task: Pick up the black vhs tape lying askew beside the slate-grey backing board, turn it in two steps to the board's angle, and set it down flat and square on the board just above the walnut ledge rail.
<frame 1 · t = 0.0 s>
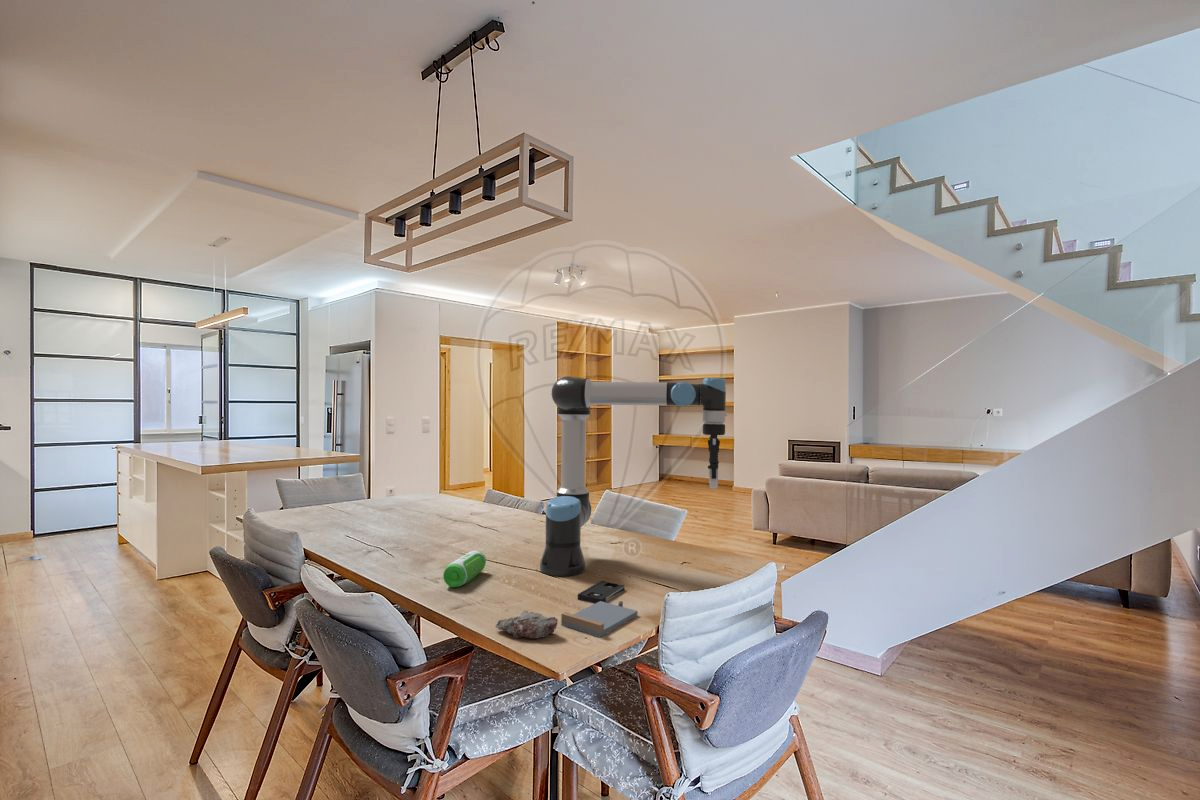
hand: (713, 485, 193), 28 cm above the table, tool pointing down, fingers open, 13 cm apart
board: (600, 620, 145), on the table
vhs tape: (601, 597, 165), on the table
mineral rock: (526, 635, 136), on the table
speaker: (465, 580, 176), on the table
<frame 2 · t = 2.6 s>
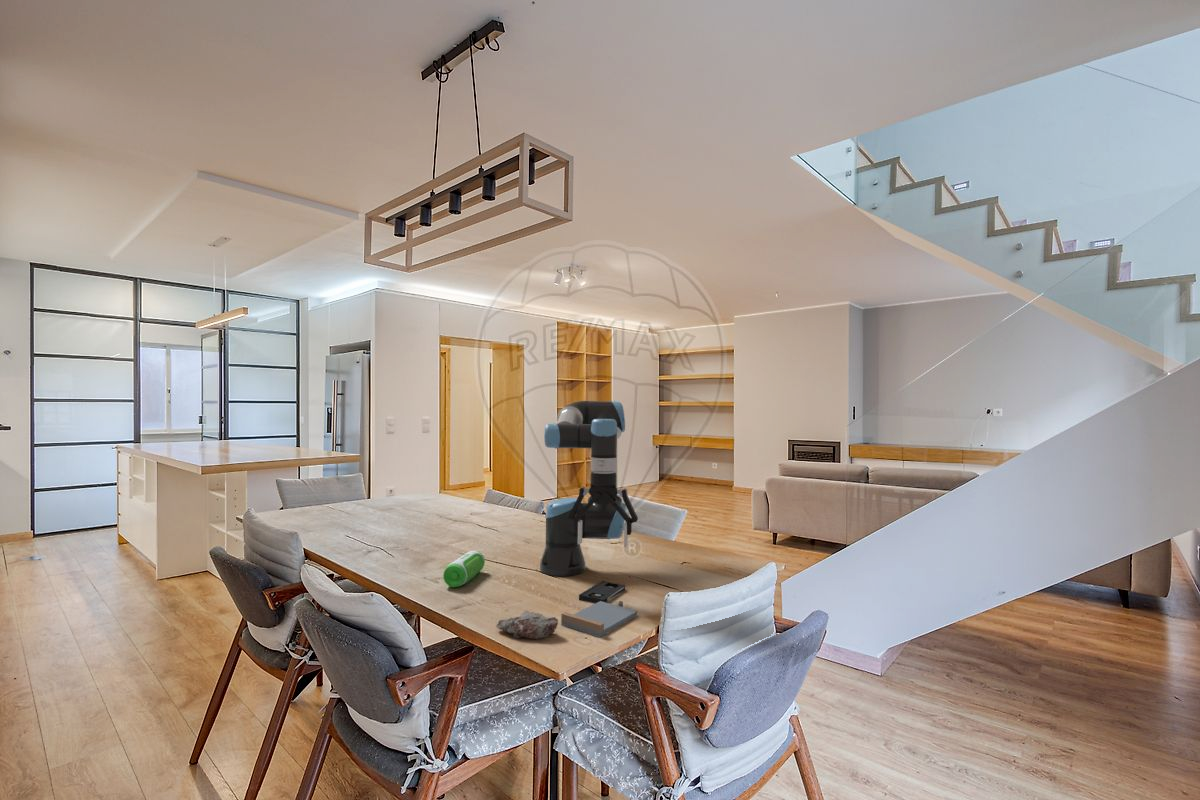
hand: (602, 544, 165), 15 cm above the table, tool pointing down, fingers open, 13 cm apart
nothing on the table moved.
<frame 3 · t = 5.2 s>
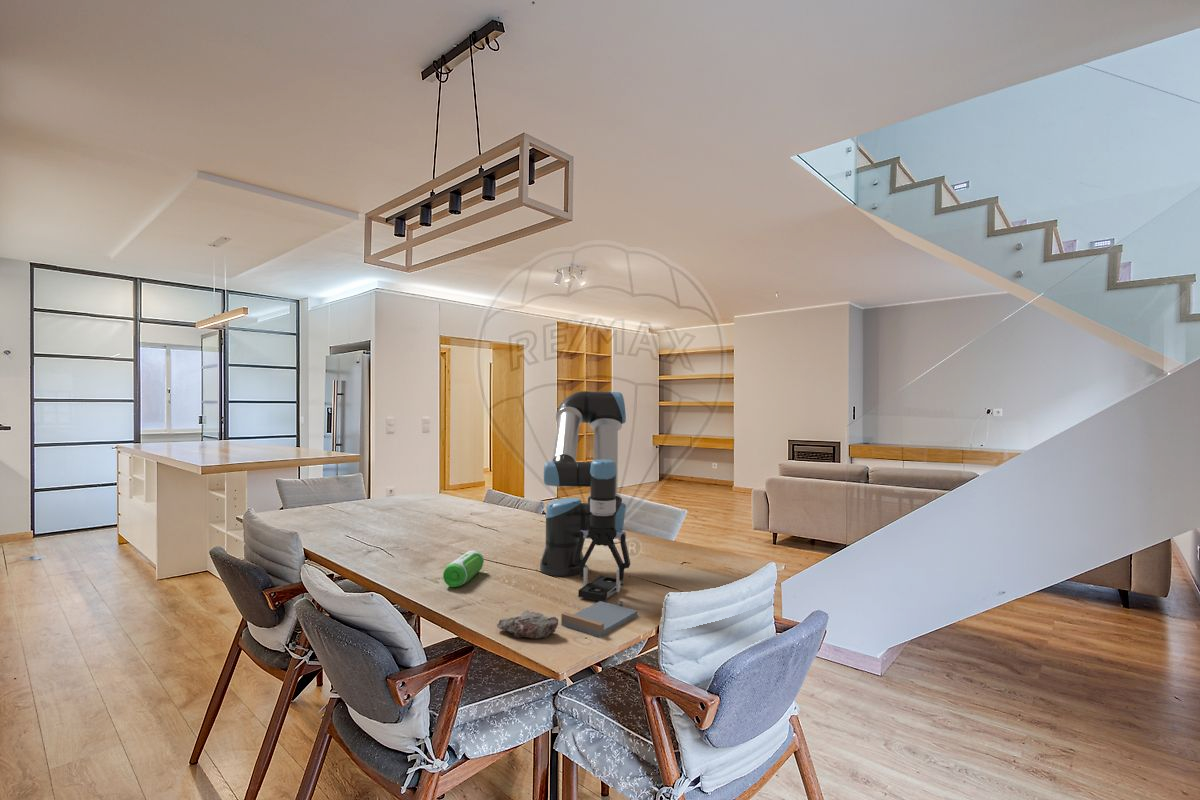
hand: (601, 589, 165), 1 cm above the table, tool pointing down, fingers closed on vhs tape, 9 cm apart
vhs tape: (601, 592, 165), on the table, touching gripper
everything else where it was.
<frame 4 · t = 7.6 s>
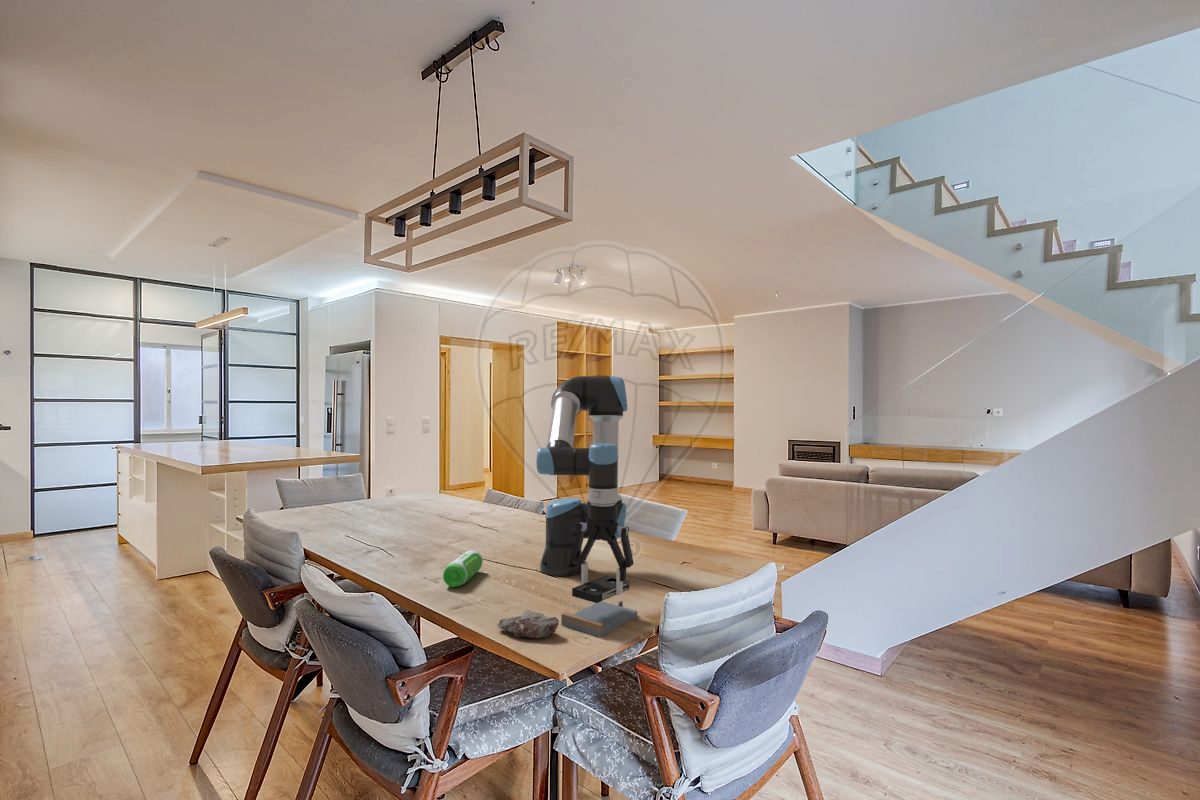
hand: (601, 590, 146), 7 cm above the table, tool pointing down, fingers closed on vhs tape, 9 cm apart
vhs tape: (601, 593, 146), point 7 cm above the table, touching gripper
everything else where it was.
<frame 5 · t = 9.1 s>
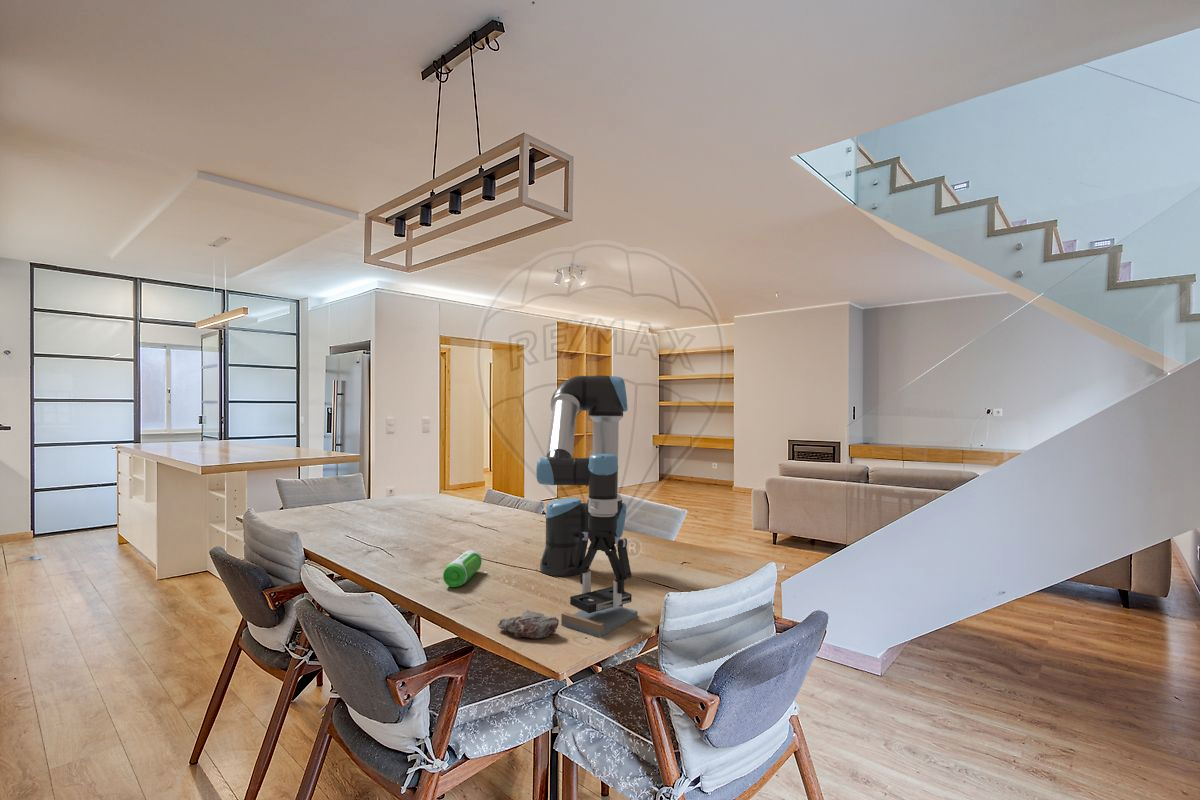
hand: (601, 601, 146), 5 cm above the table, tool pointing down, fingers closed on vhs tape, 9 cm apart
vhs tape: (601, 603, 146), point 4 cm above the table, touching gripper
everything else where it was.
when the fingers open (3 cm above the table, at t = 9.9 s): vhs tape stays where it is, resting on board.
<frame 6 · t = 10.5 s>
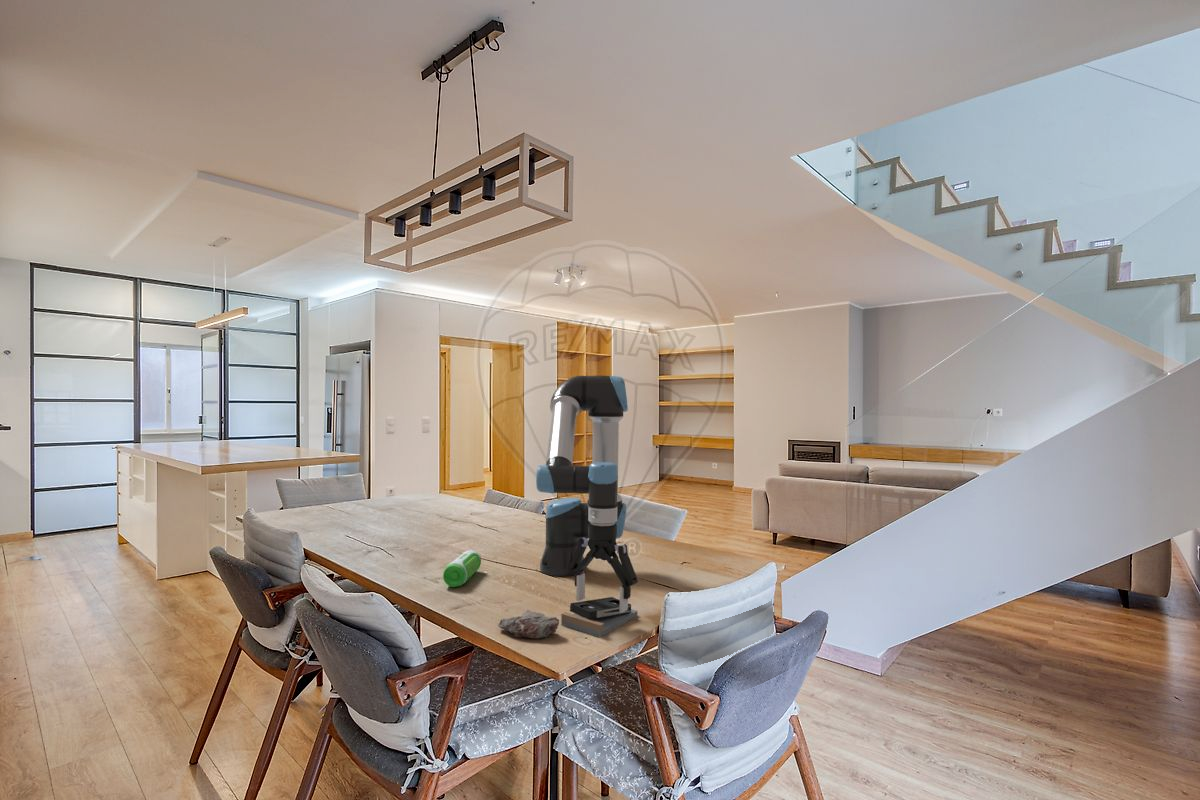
hand: (601, 605, 146), 4 cm above the table, tool pointing down, fingers open, 13 cm apart
vhs tape: (600, 612, 146), point 2 cm above the table, touching board
everything else where it was.
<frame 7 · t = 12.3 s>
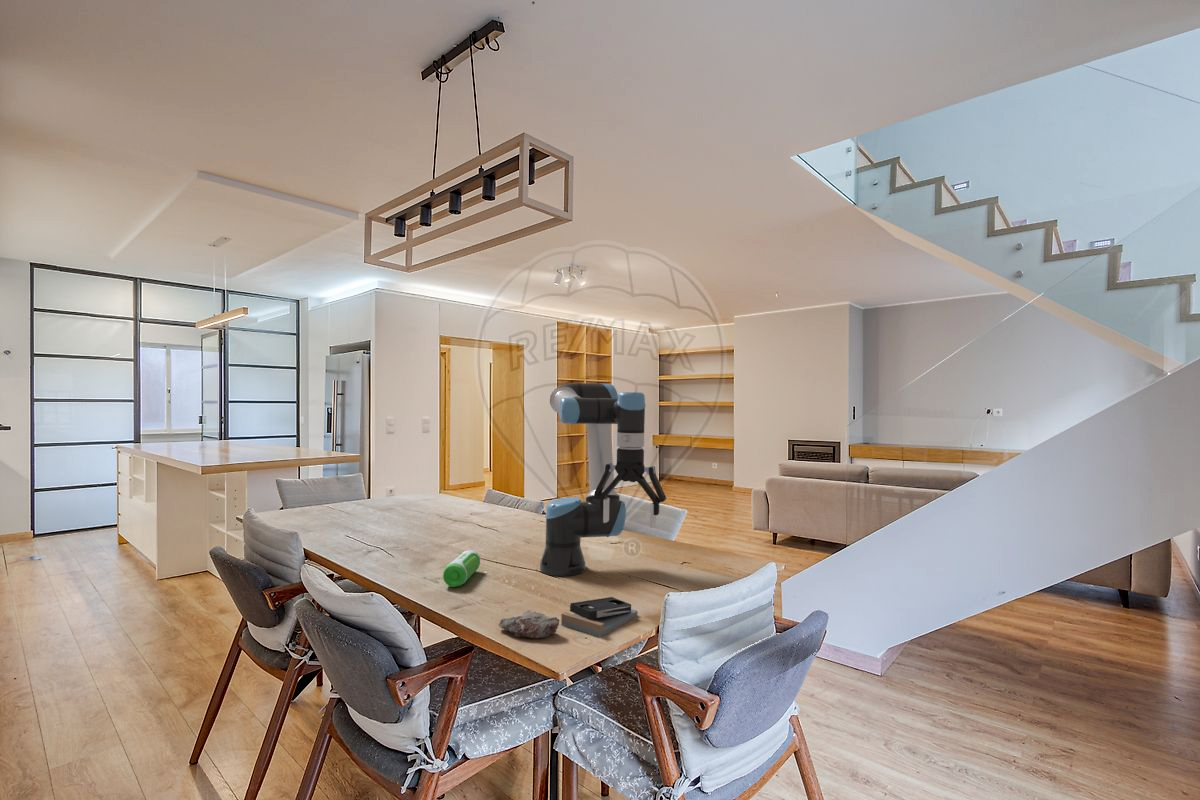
hand: (629, 524, 156), 22 cm above the table, tool pointing down, fingers open, 13 cm apart
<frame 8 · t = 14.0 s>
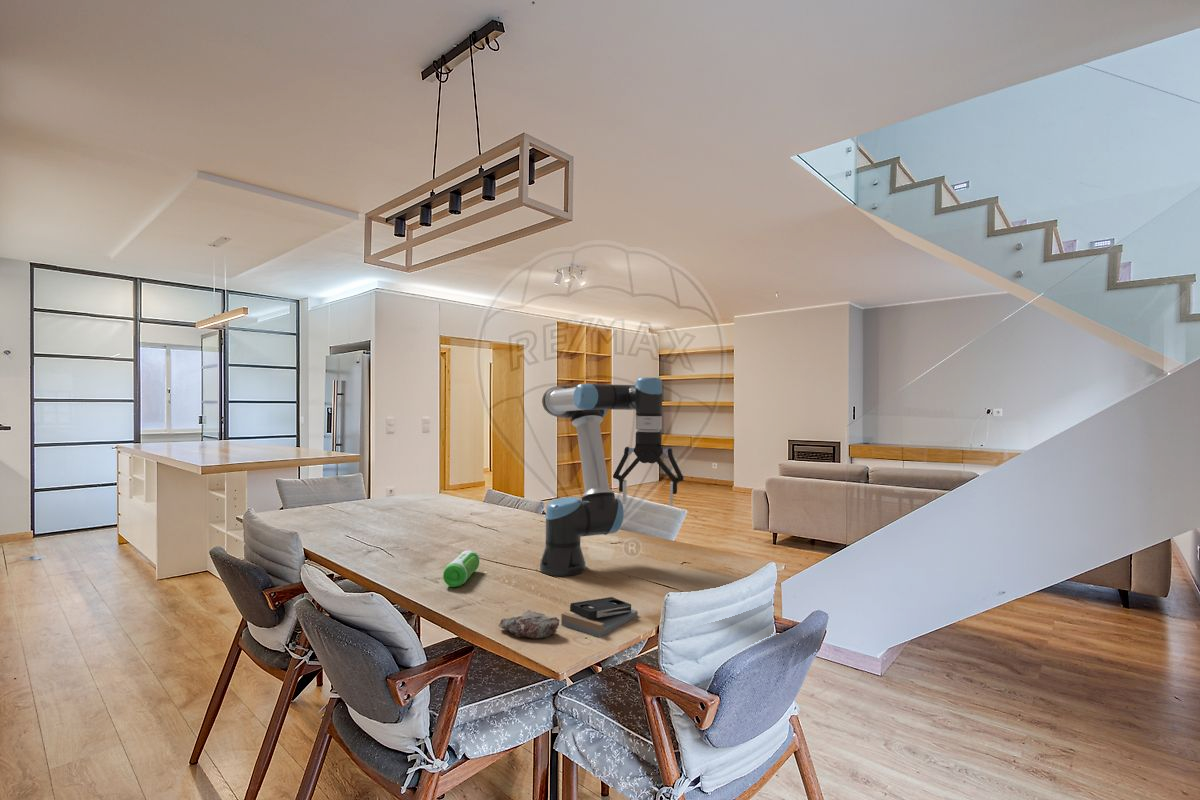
hand: (647, 504, 163), 27 cm above the table, tool pointing down, fingers open, 13 cm apart
at the end: vhs tape inside the target area on the board (0.1 cm from its centre), point 1.8 cm above the board's base; the gripper is holding nothing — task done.
